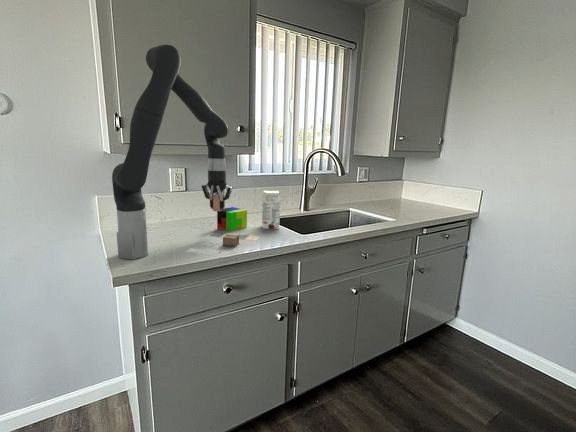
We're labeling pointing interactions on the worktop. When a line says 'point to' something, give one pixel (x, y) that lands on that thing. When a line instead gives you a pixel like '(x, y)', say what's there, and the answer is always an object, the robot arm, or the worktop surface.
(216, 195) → the pawn
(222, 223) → the puzzle toy
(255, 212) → the worktop surface
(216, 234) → the track
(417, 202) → the worktop surface
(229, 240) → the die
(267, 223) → the white supplement bottle
